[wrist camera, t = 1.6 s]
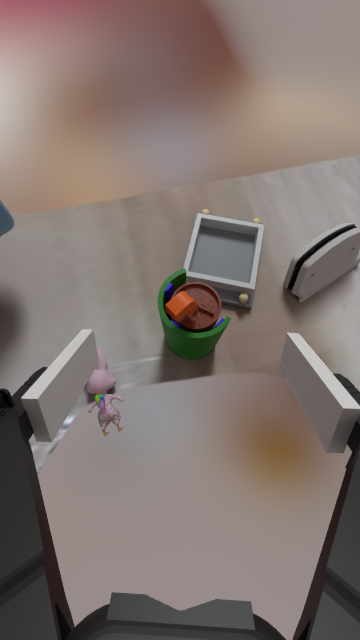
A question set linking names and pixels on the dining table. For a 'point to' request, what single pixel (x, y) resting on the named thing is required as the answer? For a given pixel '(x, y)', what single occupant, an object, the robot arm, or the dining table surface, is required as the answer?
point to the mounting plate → (225, 256)
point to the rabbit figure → (103, 394)
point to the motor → (190, 316)
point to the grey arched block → (323, 260)
